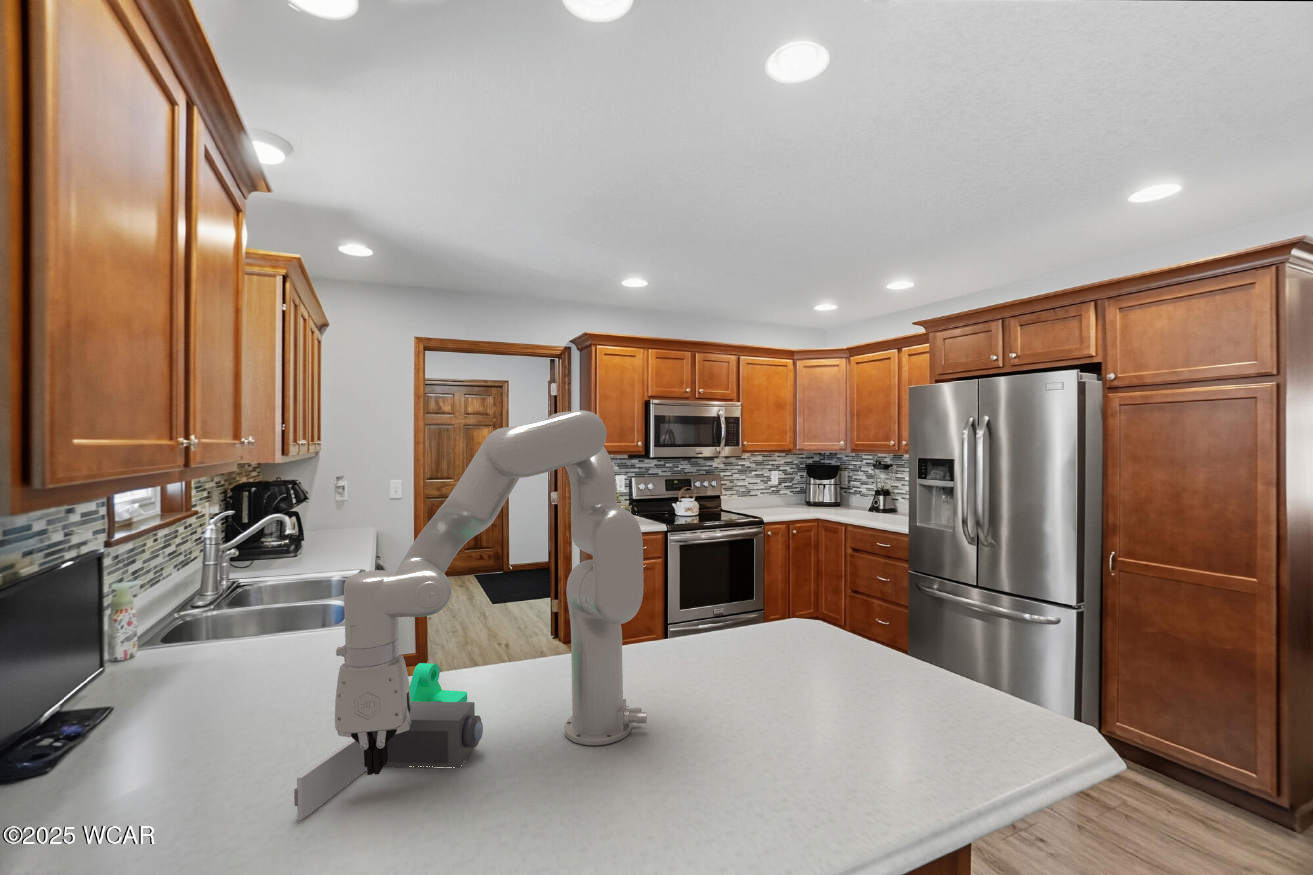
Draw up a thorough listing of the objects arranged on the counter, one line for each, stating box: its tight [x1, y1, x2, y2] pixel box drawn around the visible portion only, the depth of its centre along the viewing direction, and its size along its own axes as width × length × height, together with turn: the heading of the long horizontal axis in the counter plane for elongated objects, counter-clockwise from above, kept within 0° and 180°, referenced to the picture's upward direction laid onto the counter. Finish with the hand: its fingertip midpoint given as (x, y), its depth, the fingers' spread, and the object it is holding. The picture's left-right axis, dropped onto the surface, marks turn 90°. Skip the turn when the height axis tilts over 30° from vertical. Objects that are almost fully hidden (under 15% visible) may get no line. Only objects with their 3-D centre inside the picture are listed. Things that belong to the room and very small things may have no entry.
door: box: [293, 738, 367, 820], centre depth 94 cm, size 14×1×6 cm, turn 167°
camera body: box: [374, 701, 484, 769], centre depth 104 cm, size 18×7×9 cm, turn 86°
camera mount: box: [409, 662, 468, 702], centre depth 120 cm, size 12×8×10 cm, turn 170°
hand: (376, 769), depth 93 cm, fingers closed
